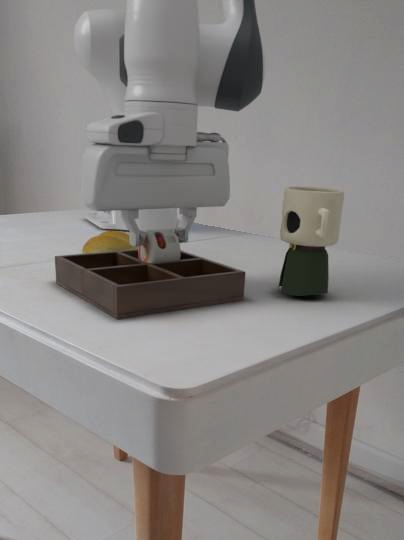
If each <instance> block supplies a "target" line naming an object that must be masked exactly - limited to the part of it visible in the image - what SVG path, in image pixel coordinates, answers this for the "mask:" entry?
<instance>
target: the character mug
mask: <svg viewBox="0 0 404 540" xmlns="http://www.w3.org/2000/svg"><path fill="white" fill-rule="evenodd" d="M344 198H345V191H344V190H342V189H337V188H330V187H320V186H319V187H317V186H286V187H284V190H283V198H282V199H283V200H282V211H281V223H280V230H279V237H280V241H282V242H284V243H286V244H289V247H288V249H287V251H286V252H285V255H284V259H283V263H282V267H281V272H280V276H279V282H278V287H277V289H278V290H279V289H280V292H281V293H284V294H286V295H289V296H290V295H291V296H296V297H302V296H303V297H304V298H305V299H308V298H309V296H313V295H324V294H328V292H329V279H330V278H329V276H330V274H329V273H330V272H329V253H328V251H327V249H326V247H329V246H335V245H336V244H338V242H339V237H340V231H341V223H342V214H343V206H344Z"/></svg>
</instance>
